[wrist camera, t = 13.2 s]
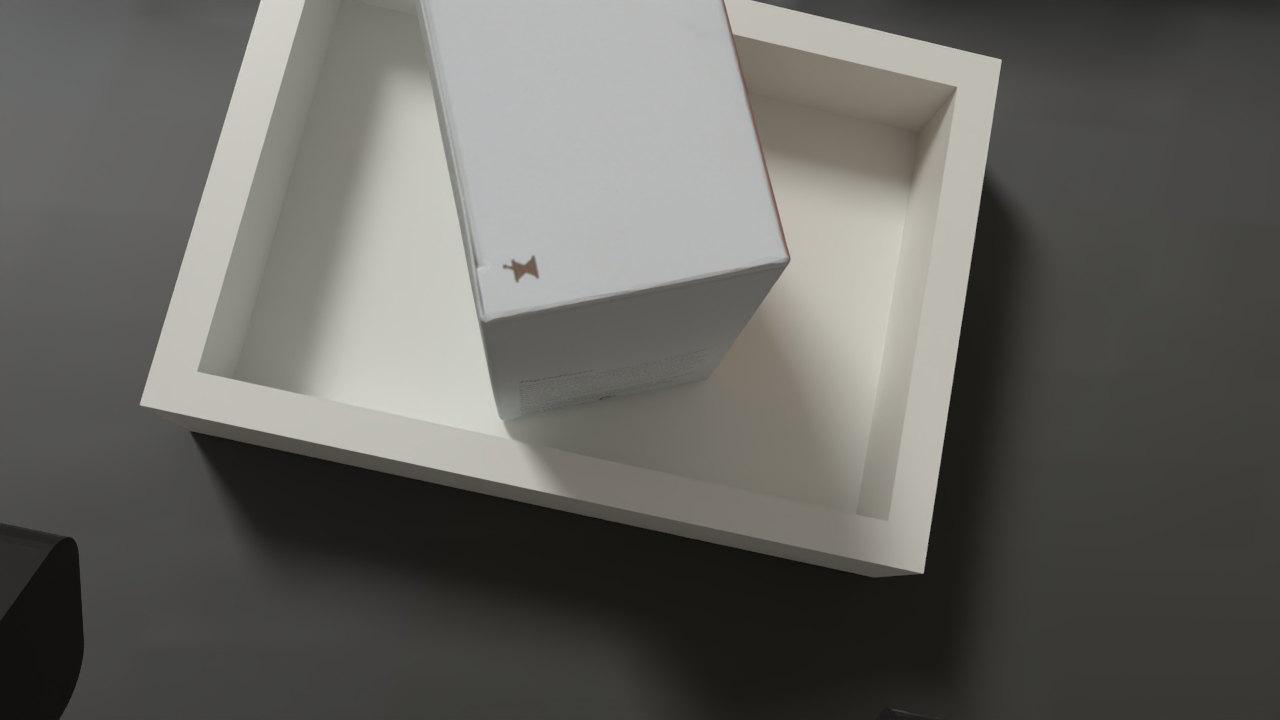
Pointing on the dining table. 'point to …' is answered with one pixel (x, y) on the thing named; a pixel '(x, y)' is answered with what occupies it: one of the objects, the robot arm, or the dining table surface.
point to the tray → (619, 427)
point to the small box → (602, 191)
